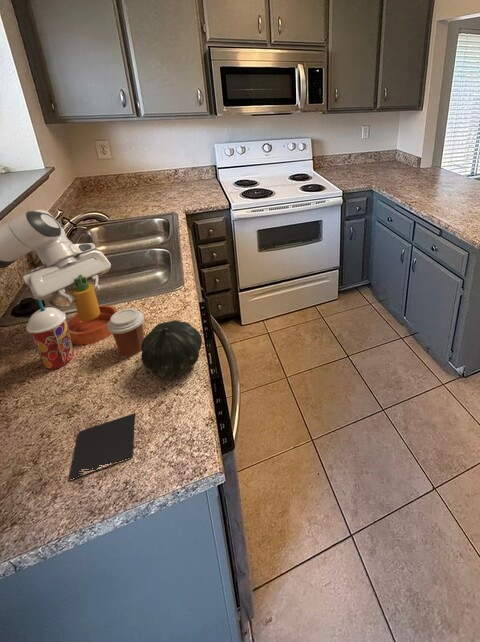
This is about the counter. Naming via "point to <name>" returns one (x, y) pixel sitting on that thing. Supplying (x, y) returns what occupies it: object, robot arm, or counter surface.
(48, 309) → the smoothie
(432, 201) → the counter surface
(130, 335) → the coffee cup
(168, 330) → the squash
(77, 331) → the bowl
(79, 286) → the pineapple
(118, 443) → the mat
